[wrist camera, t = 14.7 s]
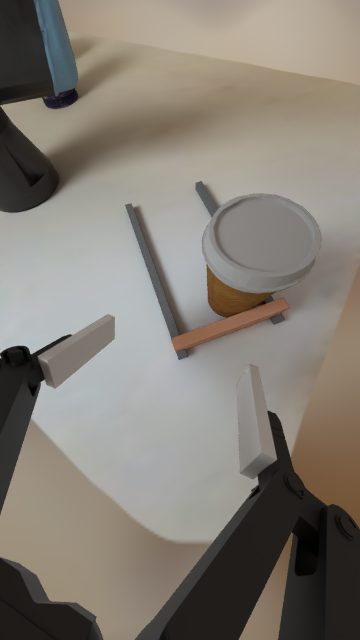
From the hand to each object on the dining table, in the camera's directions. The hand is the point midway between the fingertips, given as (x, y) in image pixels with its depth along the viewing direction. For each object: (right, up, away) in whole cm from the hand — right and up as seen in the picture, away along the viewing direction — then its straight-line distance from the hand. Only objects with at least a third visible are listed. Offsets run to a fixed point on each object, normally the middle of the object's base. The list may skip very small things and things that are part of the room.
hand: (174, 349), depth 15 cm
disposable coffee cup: (+8, +6, +9) cm, 14 cm away
